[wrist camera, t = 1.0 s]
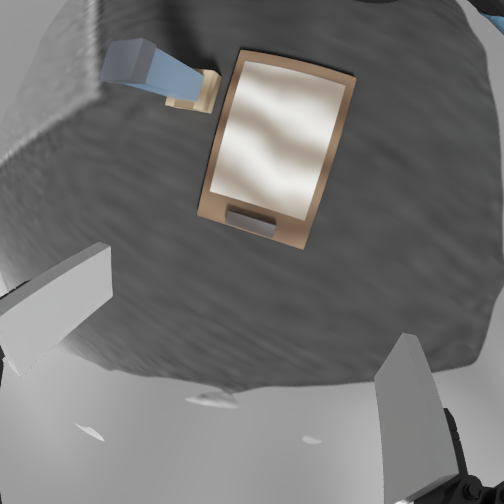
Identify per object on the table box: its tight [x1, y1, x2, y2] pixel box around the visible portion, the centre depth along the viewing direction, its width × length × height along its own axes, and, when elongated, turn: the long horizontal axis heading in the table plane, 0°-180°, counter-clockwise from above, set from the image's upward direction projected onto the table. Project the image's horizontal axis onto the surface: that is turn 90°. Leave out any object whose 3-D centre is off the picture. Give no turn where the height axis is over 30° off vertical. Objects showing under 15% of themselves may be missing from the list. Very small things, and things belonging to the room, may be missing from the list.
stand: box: [165, 68, 222, 113], centre depth 28 cm, size 5×5×3 cm
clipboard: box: [197, 50, 356, 250], centre depth 30 cm, size 22×14×1 cm, turn 165°
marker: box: [99, 39, 204, 102], centre depth 21 cm, size 4×4×14 cm
